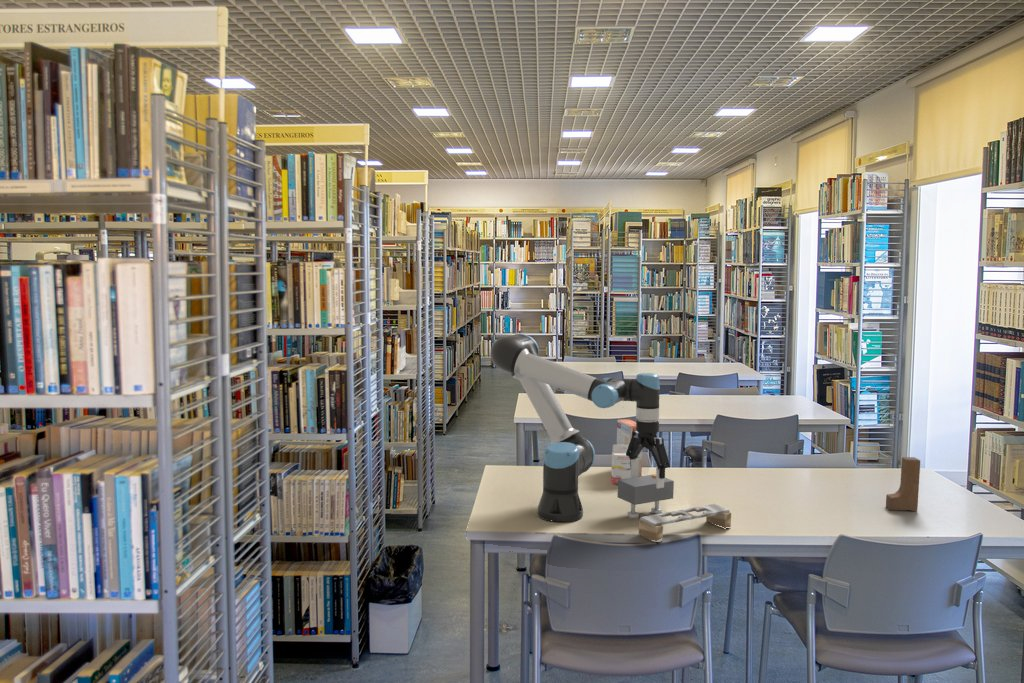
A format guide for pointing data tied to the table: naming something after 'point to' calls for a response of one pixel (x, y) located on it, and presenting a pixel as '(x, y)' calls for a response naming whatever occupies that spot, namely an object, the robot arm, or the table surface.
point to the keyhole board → (682, 519)
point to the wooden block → (906, 487)
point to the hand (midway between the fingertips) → (646, 482)
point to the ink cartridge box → (620, 464)
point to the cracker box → (627, 437)
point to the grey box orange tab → (644, 492)
